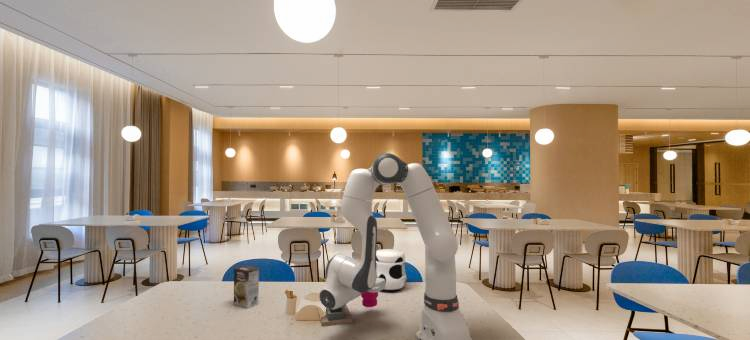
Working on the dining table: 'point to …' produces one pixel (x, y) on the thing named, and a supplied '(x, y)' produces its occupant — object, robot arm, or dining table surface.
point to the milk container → (391, 268)
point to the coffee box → (246, 286)
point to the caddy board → (336, 316)
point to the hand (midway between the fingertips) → (370, 276)
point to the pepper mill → (369, 299)
